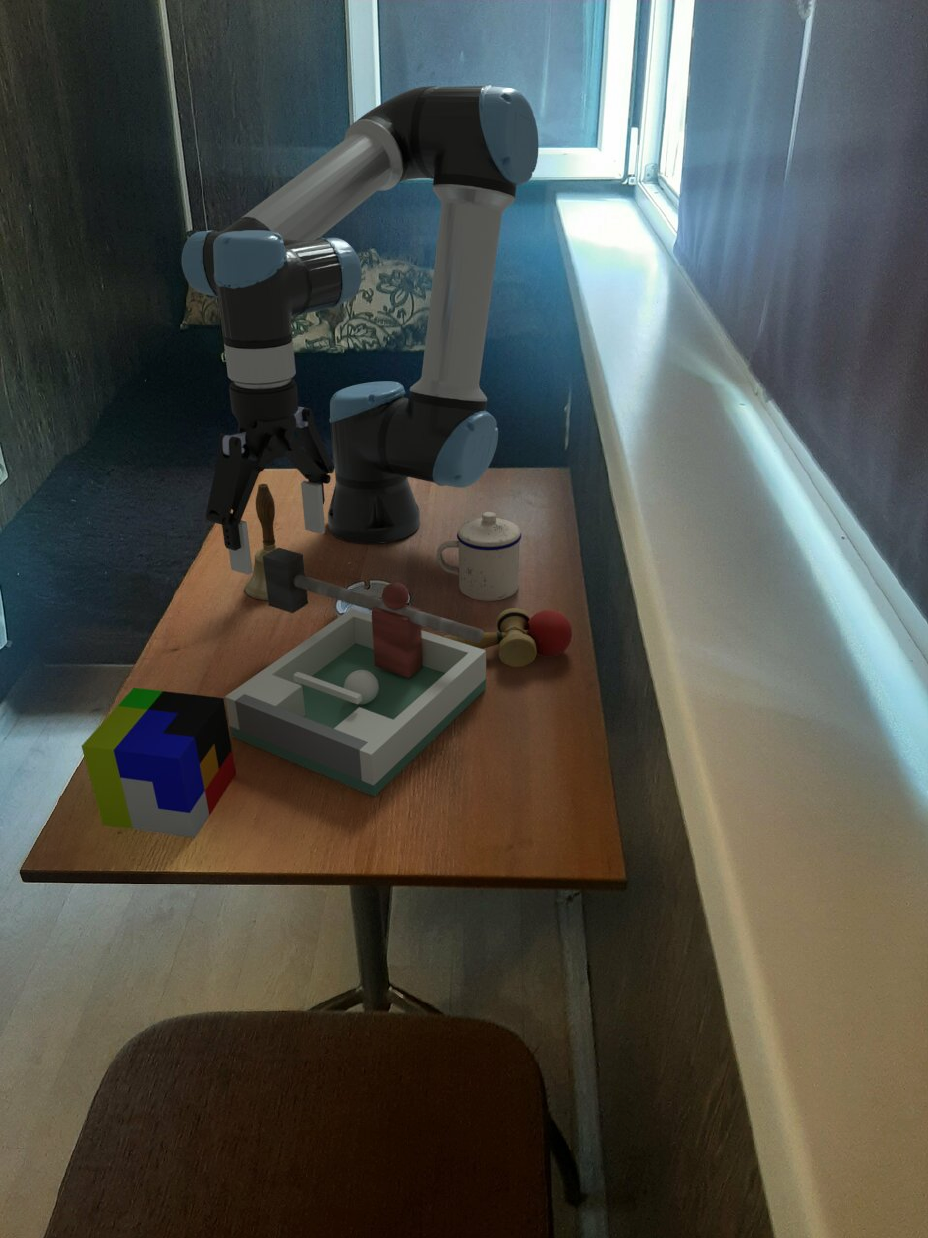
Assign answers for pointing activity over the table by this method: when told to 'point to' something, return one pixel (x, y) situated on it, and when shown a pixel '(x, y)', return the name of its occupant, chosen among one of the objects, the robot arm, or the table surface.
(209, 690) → the table surface
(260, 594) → the hand bell
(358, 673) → the ball
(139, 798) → the puzzle toy
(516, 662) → the kendama
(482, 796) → the table surface
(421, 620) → the striker
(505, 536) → the teacup with lid
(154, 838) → the table surface
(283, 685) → the pitch
